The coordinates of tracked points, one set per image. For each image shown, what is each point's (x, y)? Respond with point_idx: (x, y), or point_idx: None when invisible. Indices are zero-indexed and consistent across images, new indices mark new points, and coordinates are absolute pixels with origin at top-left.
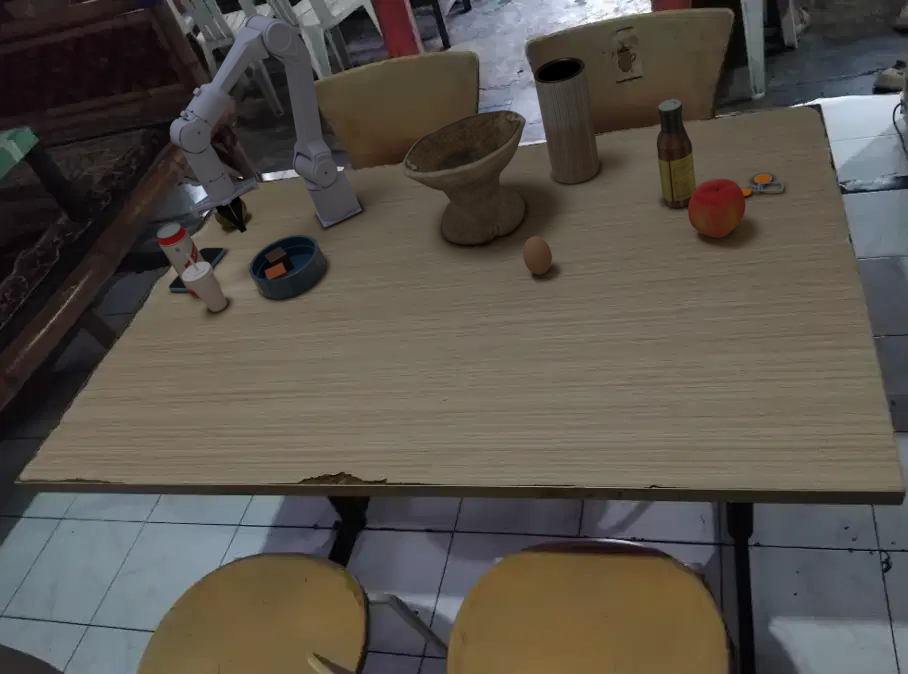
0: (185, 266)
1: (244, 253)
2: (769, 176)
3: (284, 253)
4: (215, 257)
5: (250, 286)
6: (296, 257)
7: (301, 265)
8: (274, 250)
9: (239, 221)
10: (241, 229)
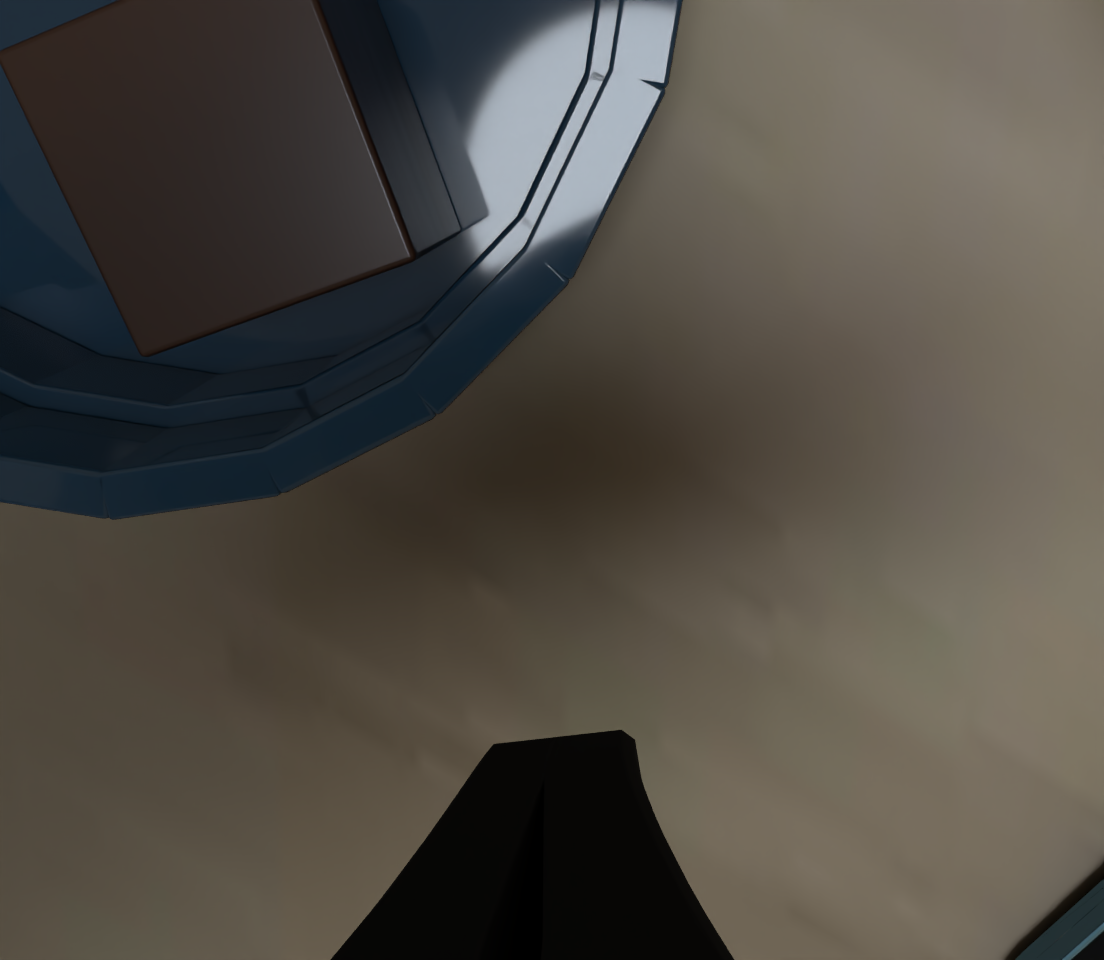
0: None
1: (795, 825)
2: None
3: (33, 70)
4: None
5: (799, 85)
6: None
7: None
8: (228, 290)
9: (478, 926)
10: (573, 766)
